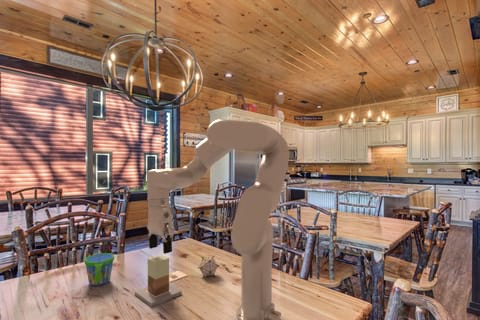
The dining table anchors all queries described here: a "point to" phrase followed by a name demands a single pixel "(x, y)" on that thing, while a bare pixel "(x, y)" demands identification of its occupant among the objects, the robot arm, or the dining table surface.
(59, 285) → the dining table surface
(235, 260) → the dining table surface
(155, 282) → the walnut block
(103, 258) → the snack cup
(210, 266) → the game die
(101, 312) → the dining table surface
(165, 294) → the plate
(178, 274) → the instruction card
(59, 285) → the dining table surface
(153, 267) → the sage block
